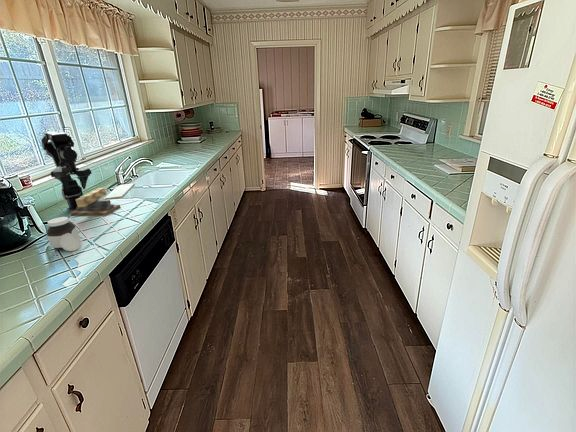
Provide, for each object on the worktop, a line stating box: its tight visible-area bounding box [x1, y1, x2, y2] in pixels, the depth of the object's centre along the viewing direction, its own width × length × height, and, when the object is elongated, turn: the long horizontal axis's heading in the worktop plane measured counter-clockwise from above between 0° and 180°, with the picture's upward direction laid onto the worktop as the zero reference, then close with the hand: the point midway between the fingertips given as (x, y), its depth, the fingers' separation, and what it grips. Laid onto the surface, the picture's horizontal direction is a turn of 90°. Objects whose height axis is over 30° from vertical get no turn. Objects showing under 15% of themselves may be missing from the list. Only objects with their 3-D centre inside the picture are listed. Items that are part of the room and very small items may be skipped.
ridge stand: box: [69, 199, 121, 216], centre depth 167 cm, size 20×12×6 cm, turn 82°
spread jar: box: [46, 216, 82, 252], centre depth 125 cm, size 12×11×12 cm
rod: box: [76, 187, 107, 207], centre depth 165 cm, size 20×4×4 cm, turn 0°
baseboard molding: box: [102, 181, 135, 200], centre depth 202 cm, size 31×3×12 cm
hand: (76, 189), depth 162 cm, fingers open, 9 cm apart
